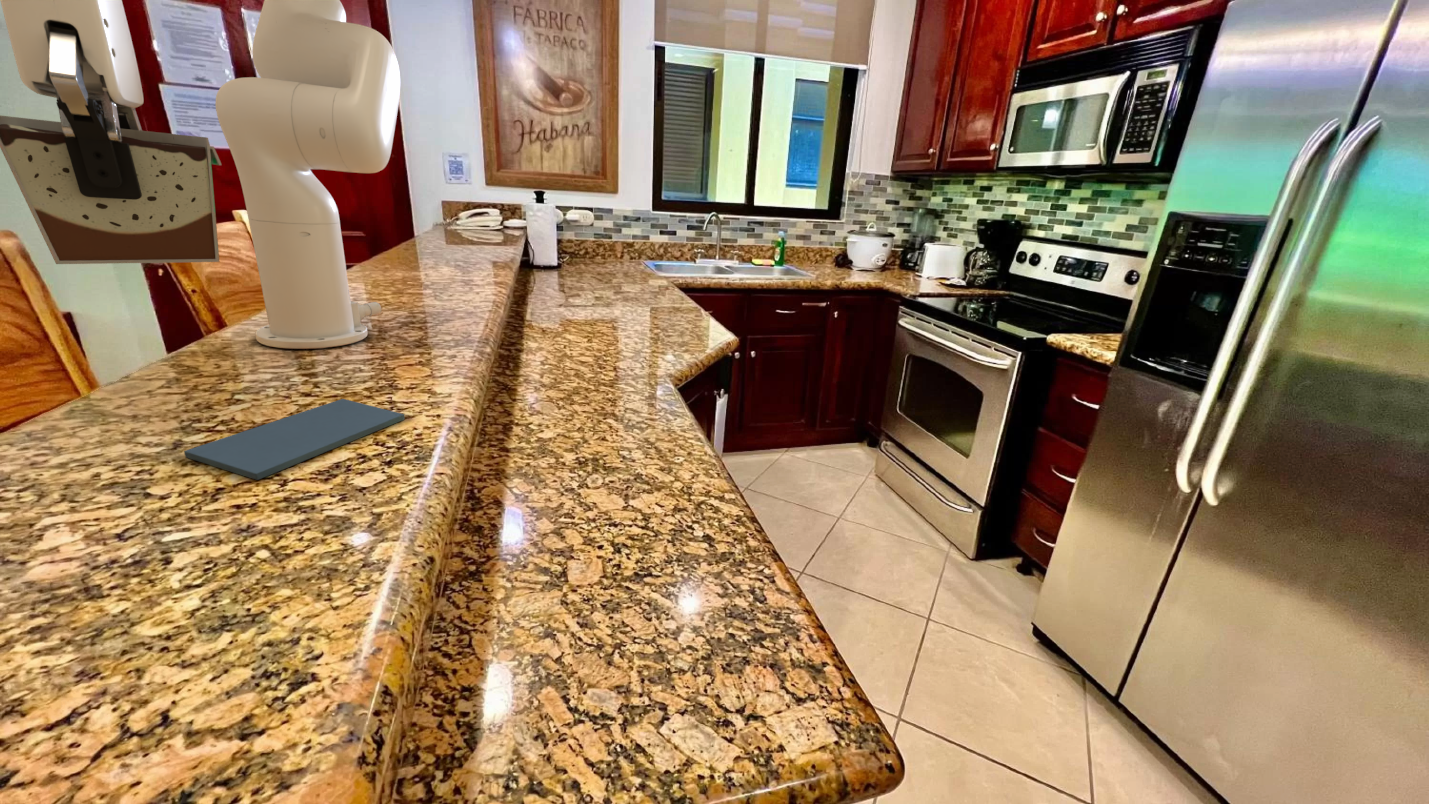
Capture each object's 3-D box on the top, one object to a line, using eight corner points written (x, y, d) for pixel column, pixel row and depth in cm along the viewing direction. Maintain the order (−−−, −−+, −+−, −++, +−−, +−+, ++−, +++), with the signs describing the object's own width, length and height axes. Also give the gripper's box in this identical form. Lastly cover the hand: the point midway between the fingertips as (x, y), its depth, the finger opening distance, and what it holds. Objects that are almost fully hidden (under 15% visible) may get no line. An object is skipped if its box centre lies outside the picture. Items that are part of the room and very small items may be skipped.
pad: (343, 403, 57) (342, 398, 57) (405, 419, 55) (404, 413, 55) (185, 457, 44) (183, 450, 44) (257, 480, 42) (255, 473, 42)
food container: (228, 252, 53) (204, 137, 49) (241, 261, 49) (216, 138, 45) (27, 252, 44) (-20, 113, 40) (25, 264, 40) (-27, 112, 37)
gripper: (13, -62, 42) (85, 185, 49) (-106, -152, 30) (13, 199, 36) (149, -32, 47) (199, 192, 53) (96, -99, 34) (170, 207, 40)
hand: (123, 192), depth 45 cm, fingers closed on food container, 6 cm apart
